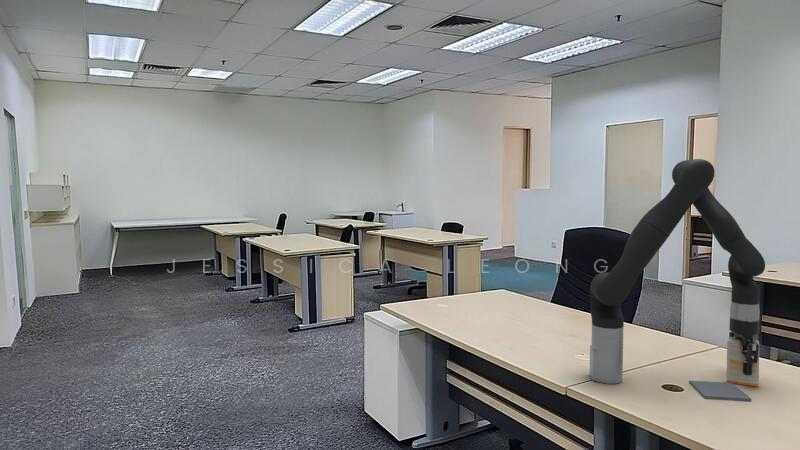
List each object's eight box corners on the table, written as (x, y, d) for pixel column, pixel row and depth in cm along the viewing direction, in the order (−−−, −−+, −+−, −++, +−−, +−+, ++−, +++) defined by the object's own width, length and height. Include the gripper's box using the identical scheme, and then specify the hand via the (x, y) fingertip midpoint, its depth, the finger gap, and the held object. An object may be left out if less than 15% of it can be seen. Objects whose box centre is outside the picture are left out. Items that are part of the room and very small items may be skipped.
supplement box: (757, 382, 160) (759, 340, 159) (758, 387, 156) (760, 344, 155) (725, 377, 164) (727, 336, 163) (725, 382, 160) (727, 340, 159)
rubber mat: (704, 398, 148) (704, 396, 148) (689, 383, 160) (689, 380, 160) (751, 401, 146) (751, 398, 146) (731, 385, 158) (732, 382, 158)
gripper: (720, 311, 166) (718, 362, 167) (741, 322, 152) (739, 378, 153) (746, 311, 165) (744, 363, 166) (770, 323, 151) (768, 380, 152)
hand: (742, 370), depth 160 cm, fingers closed on supplement box, 6 cm apart
